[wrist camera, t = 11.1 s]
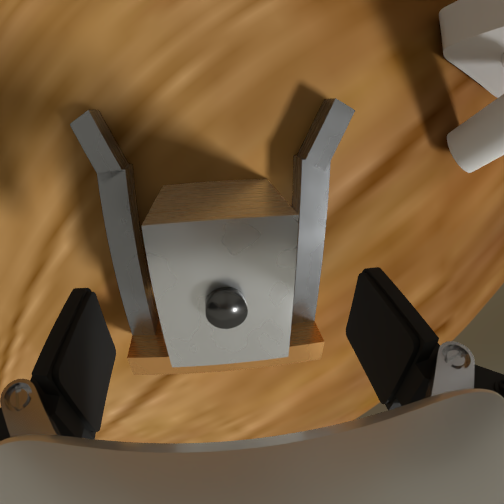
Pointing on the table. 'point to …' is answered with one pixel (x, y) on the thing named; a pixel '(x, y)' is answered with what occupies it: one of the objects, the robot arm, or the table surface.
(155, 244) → the block
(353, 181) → the table surface
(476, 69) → the white jointed piece
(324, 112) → the receiver
